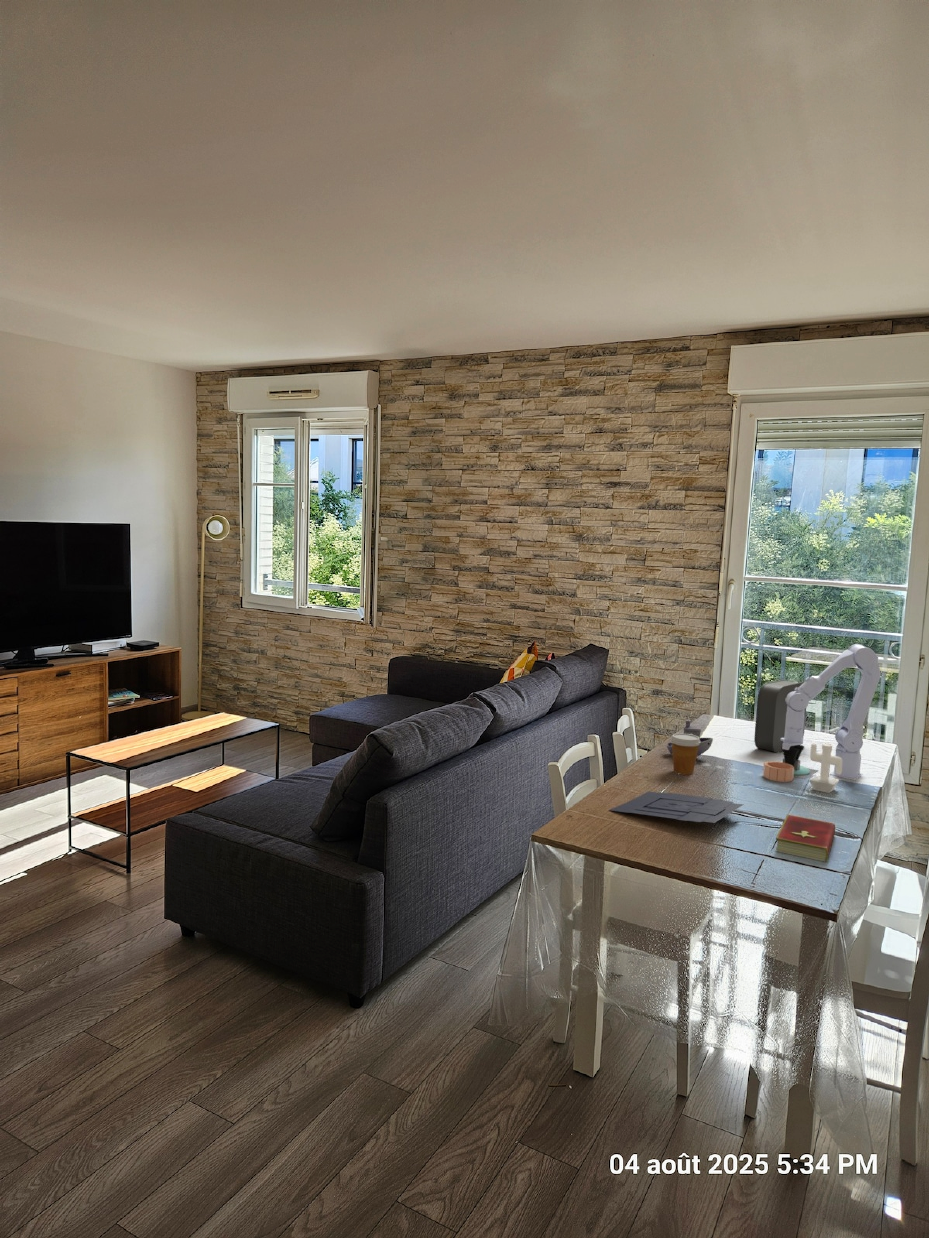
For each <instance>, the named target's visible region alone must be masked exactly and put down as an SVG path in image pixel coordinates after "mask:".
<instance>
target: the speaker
mask: <svg viewBox="0 0 929 1238" xmlns="http://www.w3.org/2000/svg"><path fill="white" fill-rule="evenodd" d="M803 683H804V682H802V681H800V682H798V681H797V682H796V681H791V680H788V679H780V680H774V681H770V682H765V683H764V684H762V685H761V687H760V688H759V690H758V694H757V700H756V701H757V702H756V712H755V713H756V715H755V716H756V717H755V723H754V724H755V725H754V736H753V737H754V740H753V741H754V745H755V747H756V749H758V750H759V749H761V750H765V751H769V752H773V753H775V754H777V753H780V754H781V753H783V752H782V750H781V746H783V743H784V742H783V741H781V738H784V736H785V723H786V713H787V706H788V705H787V704H786V701H785V698H787V695H788V694H789V693H790V692H792V691H793V692H794V691H795V688H796V687H797V688H798V687H800V686H801V685H802V684H803ZM804 715H805V716H804V728H803V737H804V736H805V727H806V719H807V717H806V715H807V708H805V712H804Z"/></svg>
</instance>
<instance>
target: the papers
mask: <svg viewBox="0 0 929 1238" xmlns="http://www.w3.org/2000/svg"><path fill="white" fill-rule="evenodd" d="M743 806H745V805H744V804H742V803H735V802H734V801H728V800H723V799H718V798H717V799H716V798H713V797H706V796H697V795H696V796H695V795H690V794H689V795H688V794H687V795H686V794H682V793H681V794H679V793H674V792H673V793H671V792H660V791H659V792H655V791H646V792H643V794H641V795H639V796H637V797H635V798H633V799H631V800H629V801H626V802H625V803H622V804H620V805H617V806H616V807H613V808H610V809H609V811H611V812H612V811H614V812H620V813H629V814H639V815H646V816H651V817H661V818H668V819H674V820H676V821H677V820H679V821H686V822H687V821H689V822H696V823H701V822H706V823H713V824H715V823H717V822H718V821H720V820H721V819H723V818H725V817H726V816H727V815H729V814H731V813H733V812H734V811H736V810H738V809H739V808H741V807H743Z"/></svg>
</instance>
